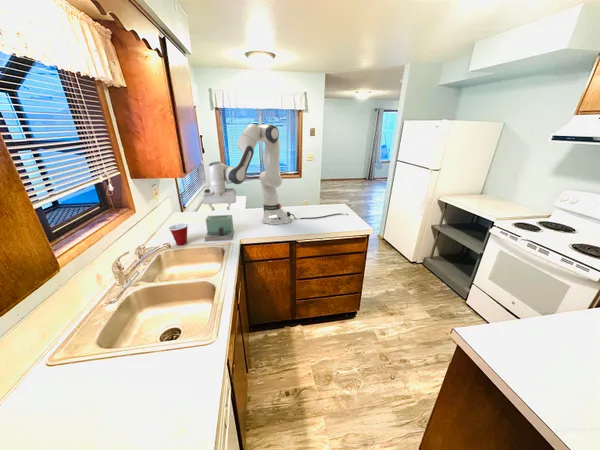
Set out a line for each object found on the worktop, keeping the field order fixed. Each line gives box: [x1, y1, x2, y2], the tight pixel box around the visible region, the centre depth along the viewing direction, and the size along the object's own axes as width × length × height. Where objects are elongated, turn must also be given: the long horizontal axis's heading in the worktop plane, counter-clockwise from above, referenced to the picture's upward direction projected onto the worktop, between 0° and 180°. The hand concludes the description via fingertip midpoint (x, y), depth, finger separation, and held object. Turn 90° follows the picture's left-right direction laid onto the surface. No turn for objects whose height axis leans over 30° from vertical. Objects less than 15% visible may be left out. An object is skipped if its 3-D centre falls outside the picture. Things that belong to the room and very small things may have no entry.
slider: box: [219, 227, 224, 235], centre depth 156 cm, size 2×3×4 cm
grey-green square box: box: [204, 214, 234, 242], centre depth 159 cm, size 16×16×12 cm
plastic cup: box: [168, 223, 189, 247], centre depth 147 cm, size 11×11×12 cm
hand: (220, 210), depth 153 cm, fingers open, 8 cm apart
